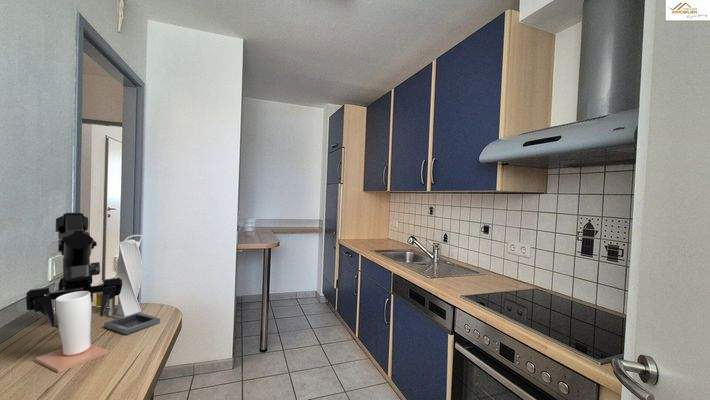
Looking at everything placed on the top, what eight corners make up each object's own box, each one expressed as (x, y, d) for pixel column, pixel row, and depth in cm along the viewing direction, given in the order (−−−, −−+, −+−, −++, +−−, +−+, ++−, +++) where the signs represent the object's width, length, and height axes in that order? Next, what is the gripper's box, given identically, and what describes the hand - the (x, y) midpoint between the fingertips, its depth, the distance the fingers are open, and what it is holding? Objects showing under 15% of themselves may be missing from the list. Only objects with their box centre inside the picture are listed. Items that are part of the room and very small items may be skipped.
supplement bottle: (98, 308, 110) (98, 282, 110) (116, 305, 113) (116, 280, 113) (94, 313, 106) (95, 286, 106) (113, 310, 108) (114, 284, 109)
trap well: (104, 327, 94) (104, 322, 94) (138, 316, 103) (138, 312, 103) (126, 335, 89) (126, 330, 89) (159, 323, 98) (160, 318, 98)
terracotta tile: (34, 360, 75) (35, 357, 75) (84, 343, 84) (84, 341, 84) (58, 372, 70) (58, 369, 70) (108, 353, 79) (108, 350, 79)
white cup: (65, 361, 73) (60, 303, 72) (55, 353, 77) (50, 297, 75) (99, 348, 79) (95, 293, 78) (88, 340, 82) (84, 288, 81)
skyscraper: (132, 308, 111) (134, 233, 111) (147, 311, 108) (148, 235, 108) (107, 316, 103) (108, 236, 103) (122, 320, 100) (123, 237, 100)
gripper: (27, 257, 74) (23, 314, 66) (121, 249, 87) (127, 295, 79) (28, 283, 79) (24, 338, 71) (117, 272, 92) (122, 317, 85)
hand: (78, 320), depth 76 cm, fingers open, 9 cm apart
